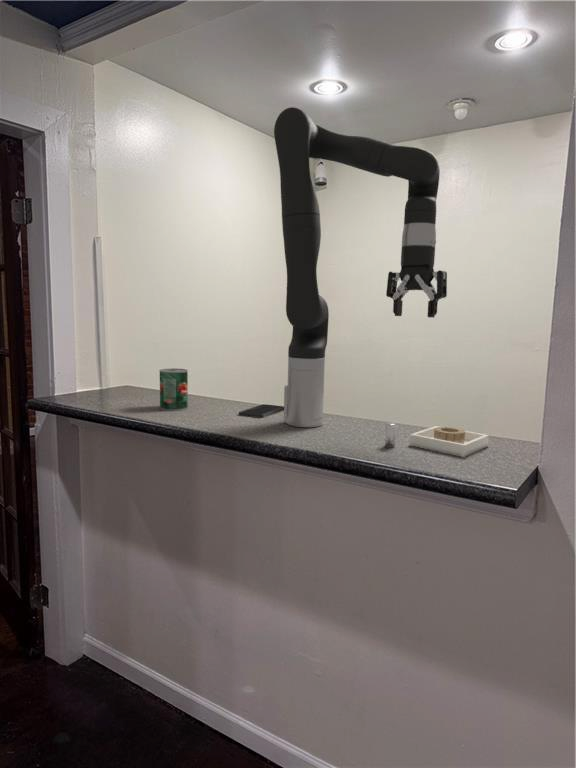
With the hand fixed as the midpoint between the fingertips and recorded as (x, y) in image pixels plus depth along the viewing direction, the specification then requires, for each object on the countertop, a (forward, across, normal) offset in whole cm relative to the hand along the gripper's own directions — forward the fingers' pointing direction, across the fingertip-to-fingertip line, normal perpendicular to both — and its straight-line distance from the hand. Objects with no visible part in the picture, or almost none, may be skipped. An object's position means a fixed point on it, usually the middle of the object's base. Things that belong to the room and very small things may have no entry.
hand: (414, 316), depth 126 cm
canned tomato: (+28, -63, -22) cm, 72 cm away
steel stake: (+28, +3, -13) cm, 31 cm away
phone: (+29, -42, -7) cm, 51 cm away
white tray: (+28, +12, -3) cm, 31 cm away
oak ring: (+28, +12, -3) cm, 30 cm away
